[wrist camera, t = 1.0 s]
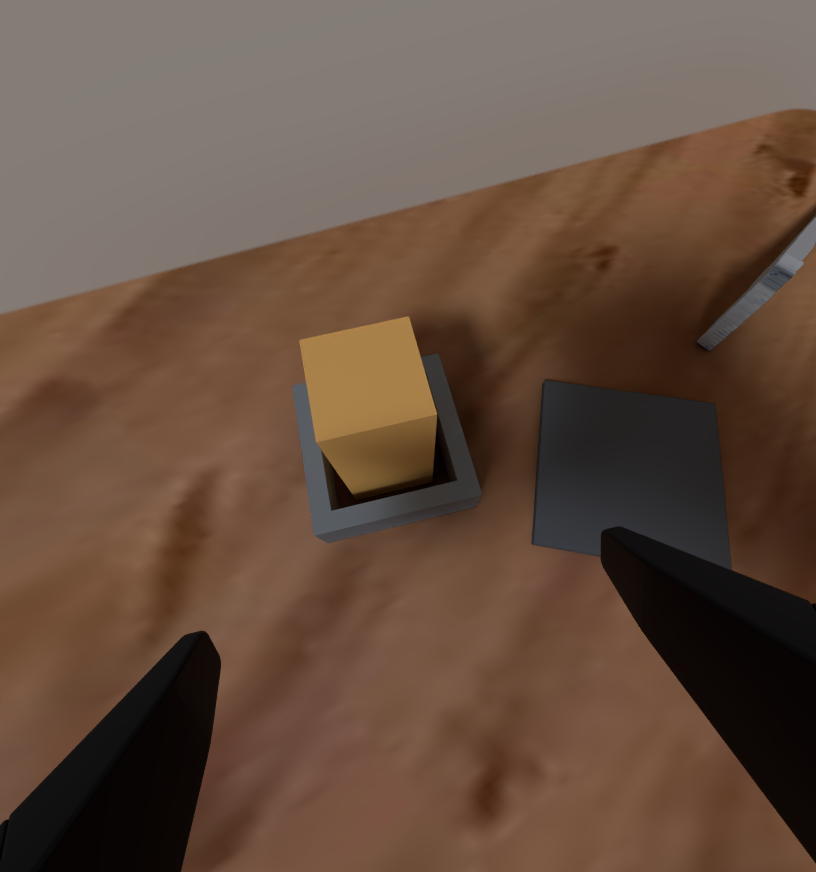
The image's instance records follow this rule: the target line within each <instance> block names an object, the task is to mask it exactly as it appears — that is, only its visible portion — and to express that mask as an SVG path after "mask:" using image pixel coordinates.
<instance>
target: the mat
mask: <svg viewBox="0 0 816 872" xmlns="http://www.w3.org/2000/svg"><path fill="white" fill-rule="evenodd" d="M616 526H621V527H624V528H626V529H629V530H631V531H634V532H637V533H639V534H642V535H644V536H647V537H649V538H652V539H654V540H657V541H659V542H662V543H664V544H667V545H669V546H672V547H674V548H677V549H679V550H682V551H684V552H687V553H689V554H692V555H694V556H697V557H699V558H702V559H704V560H707V561H710V562H712V563H715V564H717V565H720V566H722V567H725V568H727V569H730V570H732V567H731V557H730V547H729V537H728V527H727V516H726V506H725V496H724V486H723V476H722V466H721V456H720V446H719V436H718V426H717V416H716V406H715V403H708V402H701V401H693V400H686V399H679V398H671V397H664V396H657V395H649V394H642V393H635V392H627V391H620V390H613V389H606V388H598V387H591V386H584V385H576V384H569V383H562V382H554V381H547V380H545V381H544V383H543V386H542V401H541V415H540V429H539V444H538V458H537V472H536V487H535V501H534V516H533V530H532V545H537V546H543V547H549V548H554V549H560V550H566V551H572V552H577V553H583V554H589V555H594V556H600V557H601V532H602V531H603V530H605V529H608V528H612V527H616Z"/></svg>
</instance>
